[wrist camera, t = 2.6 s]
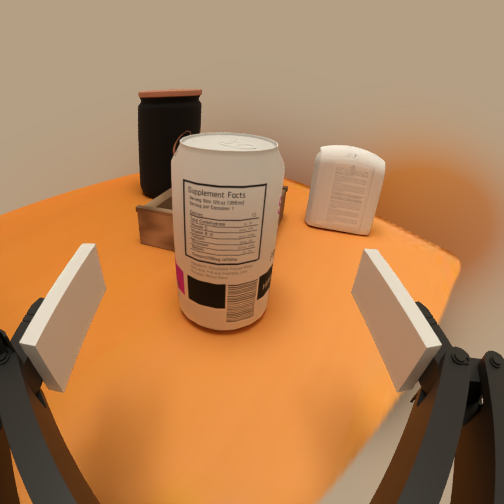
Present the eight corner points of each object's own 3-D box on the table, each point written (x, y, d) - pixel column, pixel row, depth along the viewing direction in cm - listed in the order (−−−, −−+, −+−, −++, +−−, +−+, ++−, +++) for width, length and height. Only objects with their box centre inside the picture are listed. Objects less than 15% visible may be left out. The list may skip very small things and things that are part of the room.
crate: (139, 242, 36) (135, 207, 34) (191, 200, 49) (191, 171, 46) (258, 270, 33) (262, 230, 31) (283, 217, 46) (287, 186, 43)
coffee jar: (180, 205, 47) (180, 90, 38) (129, 195, 50) (125, 93, 40) (209, 185, 56) (213, 89, 46) (162, 177, 58) (162, 89, 49)
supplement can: (162, 300, 28) (149, 139, 20) (225, 268, 33) (231, 128, 25) (220, 351, 23) (224, 160, 16) (283, 305, 29) (309, 146, 21)
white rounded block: (367, 226, 46) (384, 151, 39) (372, 238, 42) (392, 158, 36) (304, 215, 47) (316, 138, 40) (304, 228, 43) (317, 143, 37)
